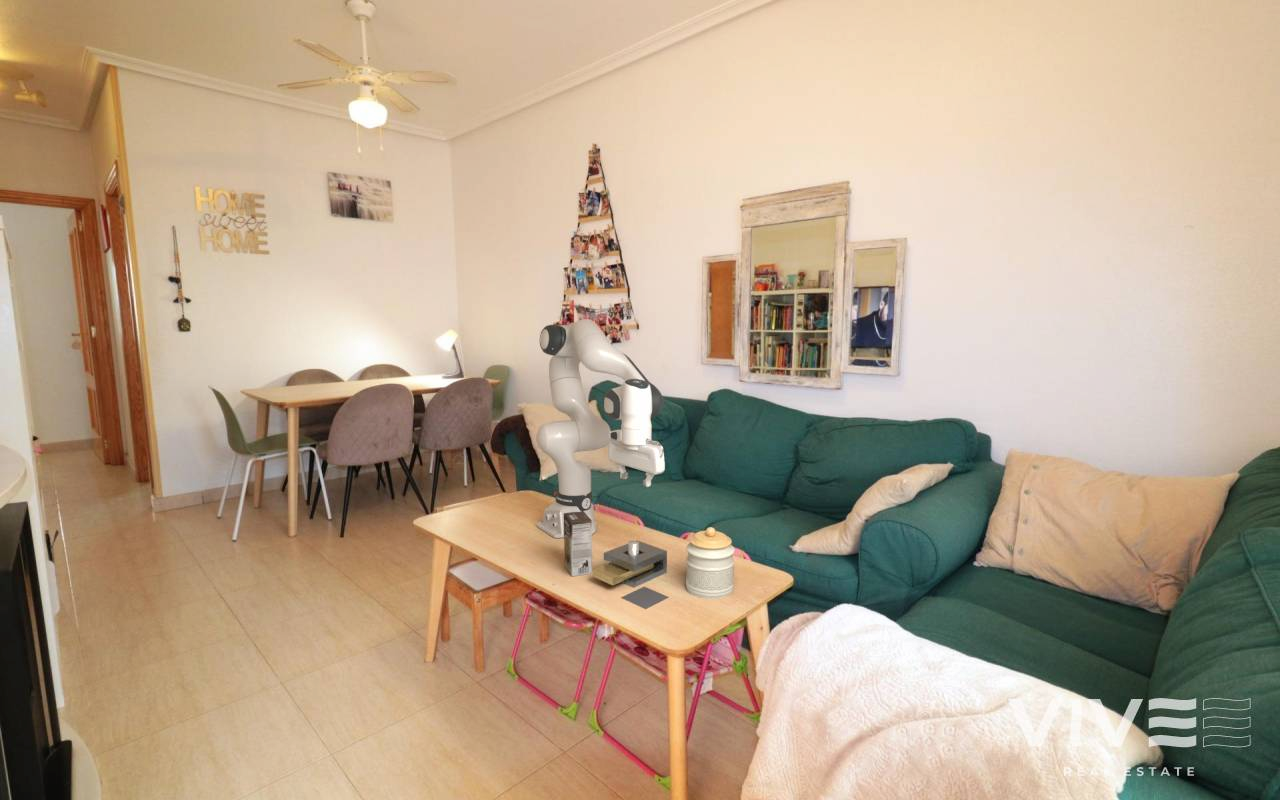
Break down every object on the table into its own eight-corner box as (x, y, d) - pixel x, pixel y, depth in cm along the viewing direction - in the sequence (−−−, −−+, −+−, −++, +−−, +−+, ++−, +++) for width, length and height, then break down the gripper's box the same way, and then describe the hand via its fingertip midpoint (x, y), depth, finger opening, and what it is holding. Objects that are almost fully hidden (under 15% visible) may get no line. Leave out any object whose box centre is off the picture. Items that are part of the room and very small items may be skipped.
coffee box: (563, 564, 176) (562, 512, 173) (584, 561, 178) (584, 510, 176) (571, 577, 167) (570, 522, 165) (593, 573, 169) (592, 519, 167)
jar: (702, 575, 168) (703, 516, 166) (742, 588, 160) (744, 526, 158) (676, 591, 158) (676, 528, 156) (717, 606, 150) (718, 540, 148)
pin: (633, 572, 170) (633, 539, 169) (640, 576, 168) (640, 542, 167) (626, 576, 168) (625, 542, 166) (633, 579, 166) (633, 545, 164)
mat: (620, 599, 154) (620, 597, 154) (644, 588, 160) (644, 586, 160) (645, 611, 148) (645, 609, 148) (669, 598, 154) (669, 597, 154)
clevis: (588, 582, 163) (587, 558, 162) (636, 562, 177) (636, 540, 176) (618, 596, 155) (617, 571, 154) (666, 574, 169) (666, 550, 168)
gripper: (670, 440, 164) (669, 488, 167) (620, 428, 179) (619, 472, 181) (654, 444, 160) (653, 493, 162) (604, 431, 174) (604, 476, 176)
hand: (635, 482), depth 172 cm, fingers open, 8 cm apart
